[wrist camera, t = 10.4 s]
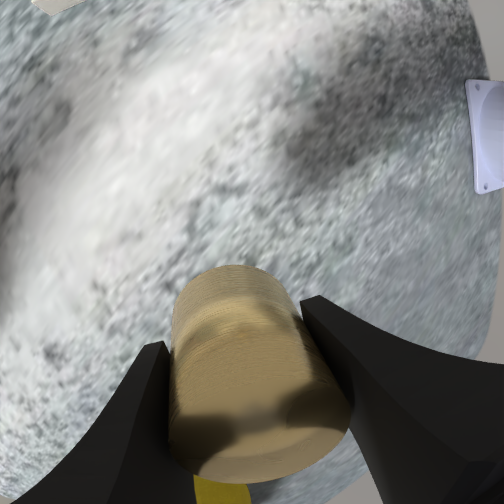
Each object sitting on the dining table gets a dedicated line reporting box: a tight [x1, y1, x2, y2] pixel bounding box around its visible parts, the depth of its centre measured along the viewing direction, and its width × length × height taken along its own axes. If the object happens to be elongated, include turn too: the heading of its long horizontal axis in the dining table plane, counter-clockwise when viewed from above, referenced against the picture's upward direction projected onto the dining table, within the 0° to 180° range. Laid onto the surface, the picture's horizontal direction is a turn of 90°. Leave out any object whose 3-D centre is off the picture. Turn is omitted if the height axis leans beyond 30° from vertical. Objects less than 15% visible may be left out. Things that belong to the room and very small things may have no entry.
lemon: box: [193, 474, 251, 504], centre depth 20 cm, size 6×6×8 cm
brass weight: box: [169, 265, 351, 484], centre depth 8 cm, size 4×4×5 cm
